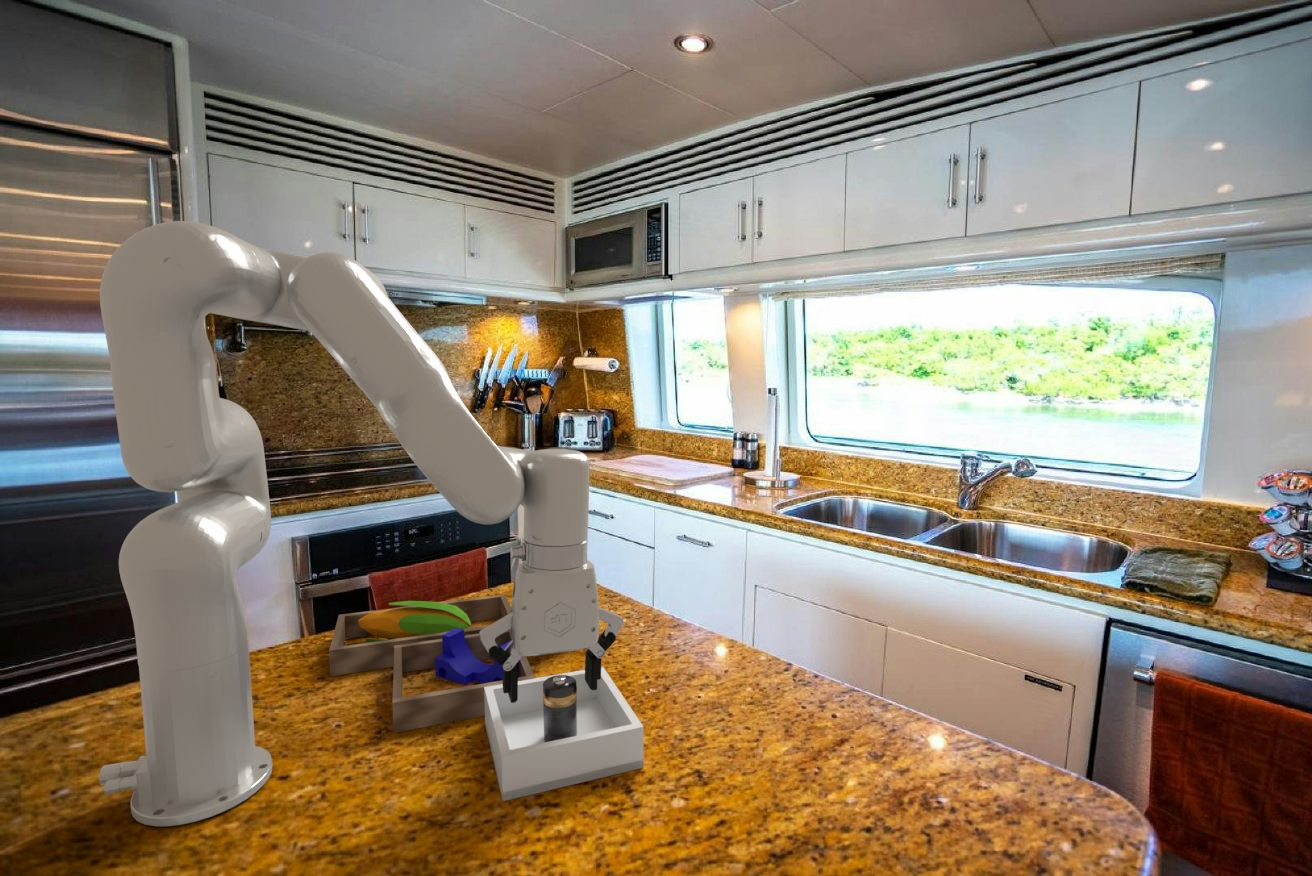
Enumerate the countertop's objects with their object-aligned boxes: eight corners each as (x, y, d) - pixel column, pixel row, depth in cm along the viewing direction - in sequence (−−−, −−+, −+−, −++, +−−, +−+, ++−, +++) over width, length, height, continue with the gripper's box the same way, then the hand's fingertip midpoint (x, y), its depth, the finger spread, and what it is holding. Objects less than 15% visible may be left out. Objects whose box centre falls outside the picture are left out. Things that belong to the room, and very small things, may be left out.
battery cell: (549, 751, 75) (548, 690, 74) (539, 732, 78) (538, 674, 77) (582, 741, 77) (581, 682, 76) (570, 724, 80) (570, 667, 79)
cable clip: (435, 677, 95) (434, 638, 94) (457, 665, 99) (456, 628, 98) (498, 695, 90) (497, 655, 89) (518, 682, 94) (517, 643, 93)
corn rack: (330, 676, 95) (329, 650, 94) (339, 637, 109) (338, 614, 108) (519, 647, 105) (518, 624, 105) (505, 615, 119) (505, 594, 118)
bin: (502, 801, 67) (501, 757, 67) (484, 723, 82) (484, 687, 82) (643, 767, 73) (643, 726, 73) (603, 701, 88) (603, 666, 88)
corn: (459, 611, 100) (342, 605, 103) (459, 659, 101) (342, 651, 103) (478, 598, 108) (369, 592, 110) (478, 642, 108) (369, 635, 110)
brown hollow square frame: (393, 733, 80) (392, 703, 80) (395, 670, 97) (394, 645, 96) (535, 706, 87) (535, 678, 86) (514, 652, 103) (514, 628, 103)
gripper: (484, 568, 69) (482, 718, 70) (634, 557, 75) (629, 695, 77) (477, 550, 75) (475, 687, 77) (615, 541, 82) (611, 668, 84)
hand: (552, 691), depth 77 cm, fingers open, 9 cm apart
